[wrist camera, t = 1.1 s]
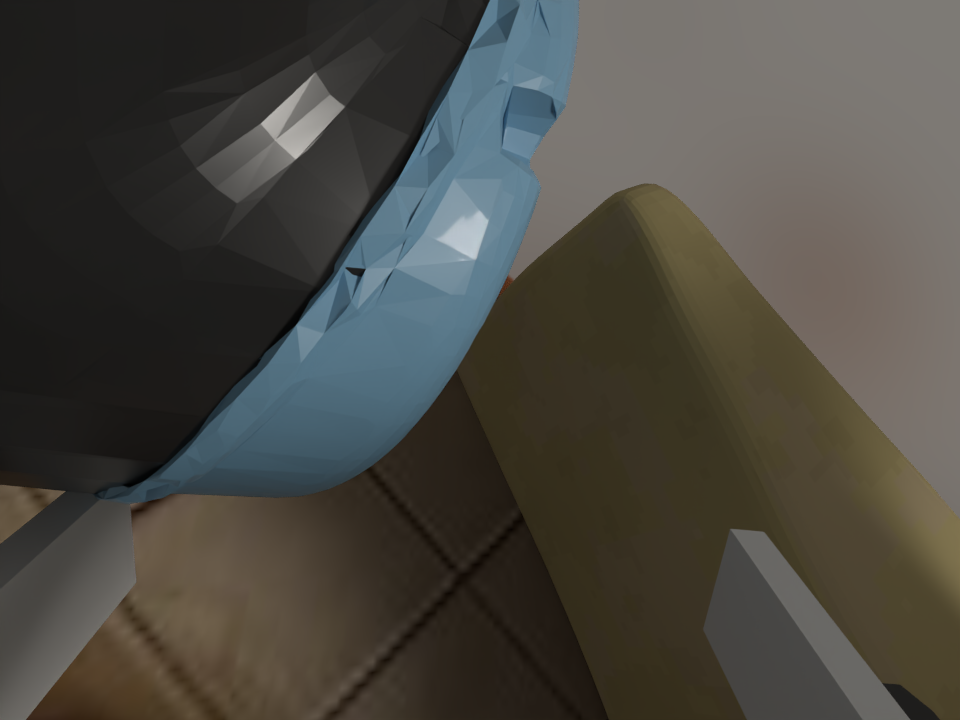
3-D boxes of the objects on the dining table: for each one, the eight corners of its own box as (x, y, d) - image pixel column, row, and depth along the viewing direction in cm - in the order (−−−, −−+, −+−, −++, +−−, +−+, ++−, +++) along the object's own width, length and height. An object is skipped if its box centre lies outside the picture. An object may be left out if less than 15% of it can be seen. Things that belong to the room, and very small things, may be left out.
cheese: (380, 383, 29) (523, 179, 17) (523, 319, 35) (710, 129, 23) (639, 826, 26) (1056, 964, 13) (754, 677, 31) (1127, 680, 19)
